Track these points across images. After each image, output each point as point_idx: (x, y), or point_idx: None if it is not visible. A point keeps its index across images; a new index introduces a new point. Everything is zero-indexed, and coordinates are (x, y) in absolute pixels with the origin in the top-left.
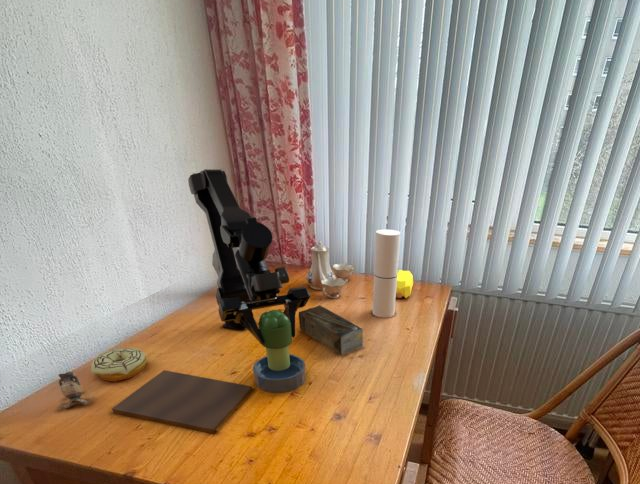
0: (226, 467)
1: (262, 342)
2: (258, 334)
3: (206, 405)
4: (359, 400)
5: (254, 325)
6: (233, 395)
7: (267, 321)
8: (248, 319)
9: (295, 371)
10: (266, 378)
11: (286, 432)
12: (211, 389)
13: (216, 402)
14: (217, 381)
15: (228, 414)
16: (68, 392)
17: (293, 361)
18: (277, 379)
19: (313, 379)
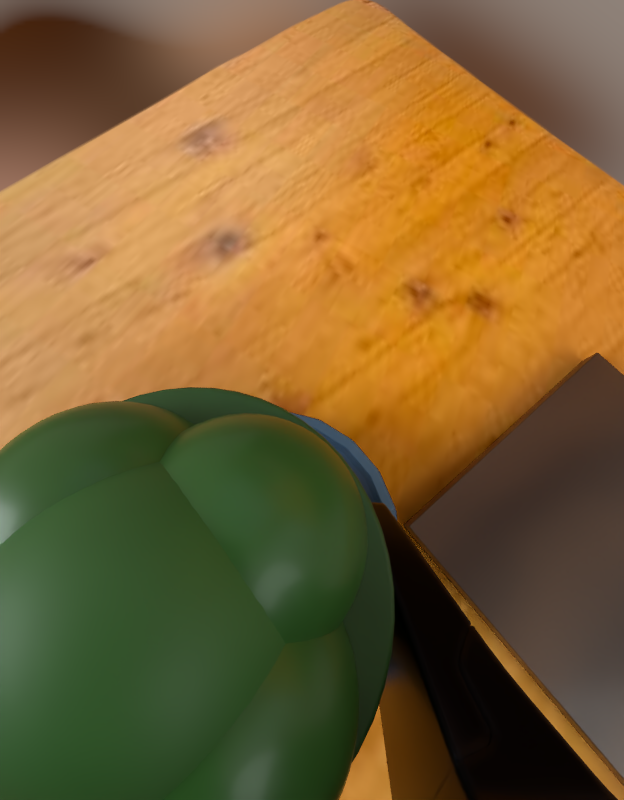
0: (568, 229)
1: (379, 503)
2: (406, 557)
3: (606, 495)
4: (121, 273)
5: (452, 656)
6: (497, 504)
7: (318, 475)
8: (576, 787)
9: None
10: (368, 462)
11: (388, 262)
12: (575, 605)
13: (567, 493)
14: (541, 663)
15: (533, 409)
16: None
17: None
18: (328, 429)
19: None
